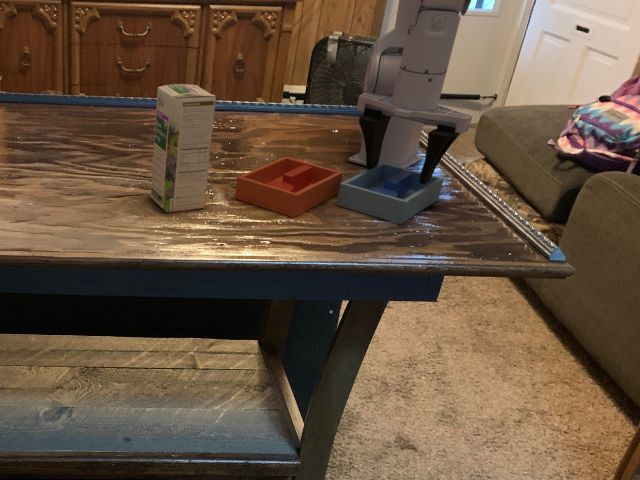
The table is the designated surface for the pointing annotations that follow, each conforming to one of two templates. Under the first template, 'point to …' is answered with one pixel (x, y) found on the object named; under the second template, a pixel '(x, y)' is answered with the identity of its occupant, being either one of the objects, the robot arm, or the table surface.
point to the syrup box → (182, 146)
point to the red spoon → (294, 179)
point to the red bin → (283, 201)
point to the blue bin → (385, 206)
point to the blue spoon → (396, 185)
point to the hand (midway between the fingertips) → (397, 174)
